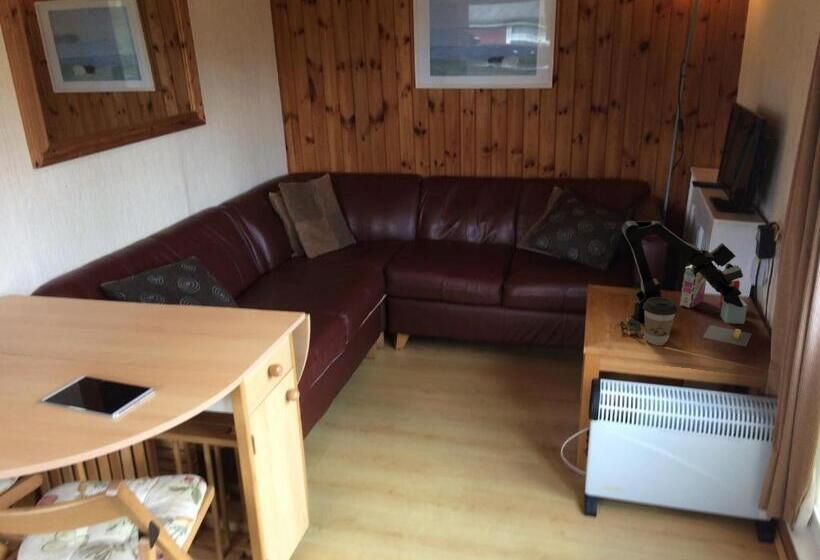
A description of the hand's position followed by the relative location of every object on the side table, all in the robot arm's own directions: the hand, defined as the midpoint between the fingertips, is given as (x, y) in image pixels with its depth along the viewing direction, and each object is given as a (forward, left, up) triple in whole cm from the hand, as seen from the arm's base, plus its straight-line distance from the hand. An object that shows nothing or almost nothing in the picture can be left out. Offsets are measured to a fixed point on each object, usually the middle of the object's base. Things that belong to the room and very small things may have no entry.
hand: (738, 302), depth 240 cm
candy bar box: (-4, +20, -8) cm, 21 cm away
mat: (-12, -10, -8) cm, 18 cm away
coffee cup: (-38, -5, -8) cm, 39 cm away
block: (-1, +1, -8) cm, 8 cm away
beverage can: (+7, +13, -8) cm, 16 cm away
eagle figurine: (-43, +2, -8) cm, 44 cm away
